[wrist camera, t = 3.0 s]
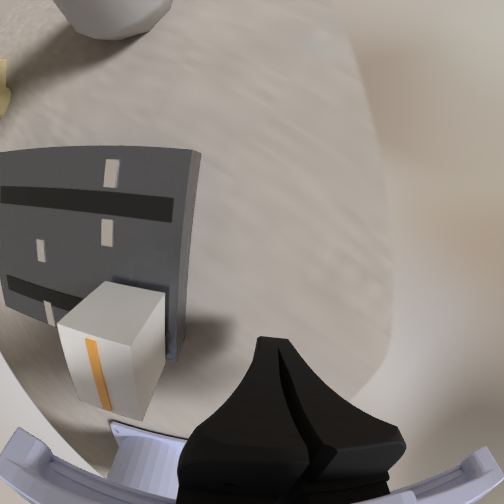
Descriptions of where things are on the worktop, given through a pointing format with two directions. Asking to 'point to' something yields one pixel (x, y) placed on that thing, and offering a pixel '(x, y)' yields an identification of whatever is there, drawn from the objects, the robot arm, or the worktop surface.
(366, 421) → the robot arm
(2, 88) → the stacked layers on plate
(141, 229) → the console
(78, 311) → the white striped block
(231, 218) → the worktop surface
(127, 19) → the salt shaker
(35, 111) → the worktop surface
